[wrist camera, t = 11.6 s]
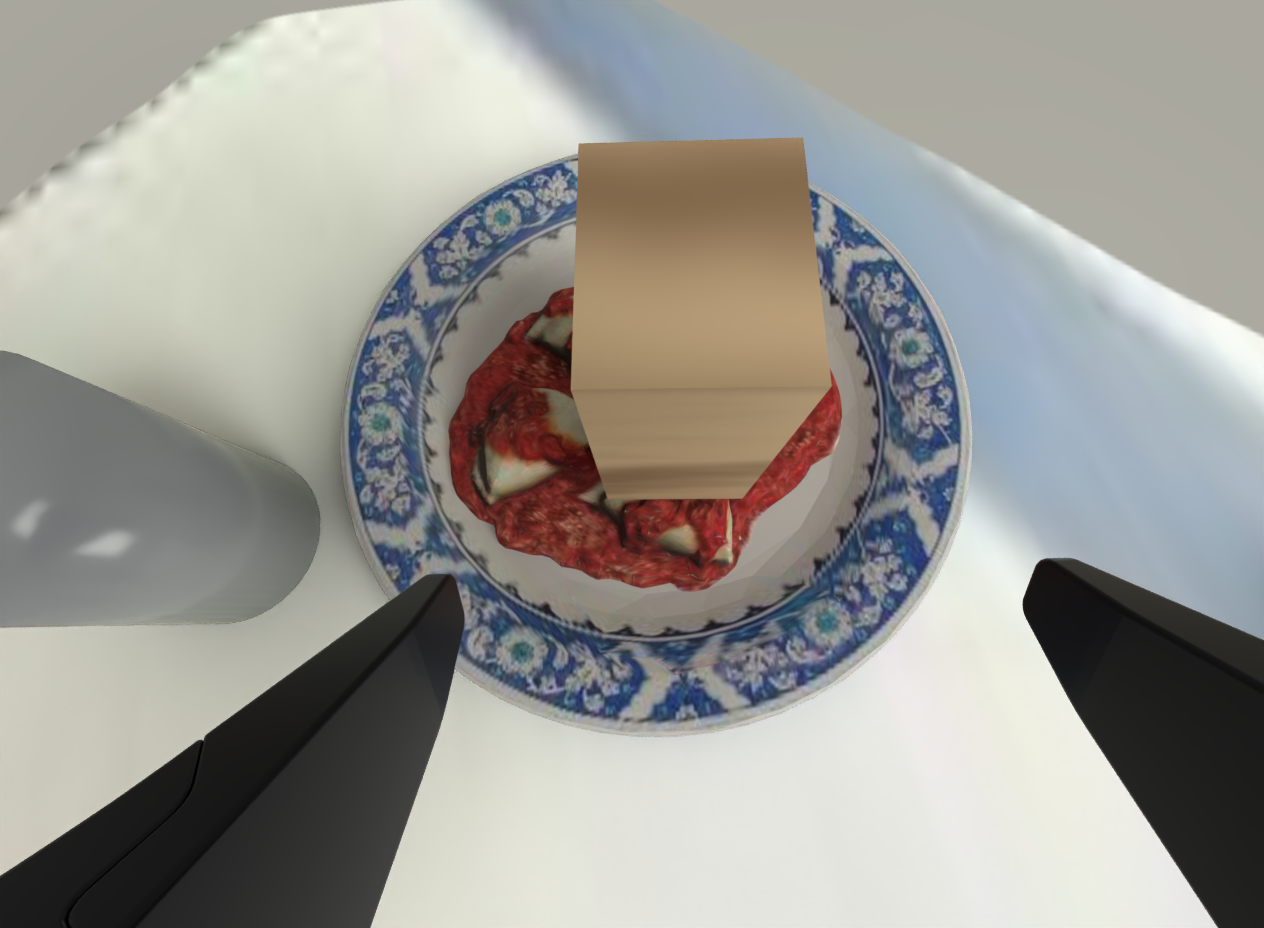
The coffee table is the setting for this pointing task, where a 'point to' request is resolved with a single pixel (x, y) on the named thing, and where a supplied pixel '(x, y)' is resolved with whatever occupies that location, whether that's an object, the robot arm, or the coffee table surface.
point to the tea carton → (694, 312)
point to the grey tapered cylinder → (136, 512)
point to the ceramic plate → (646, 528)
